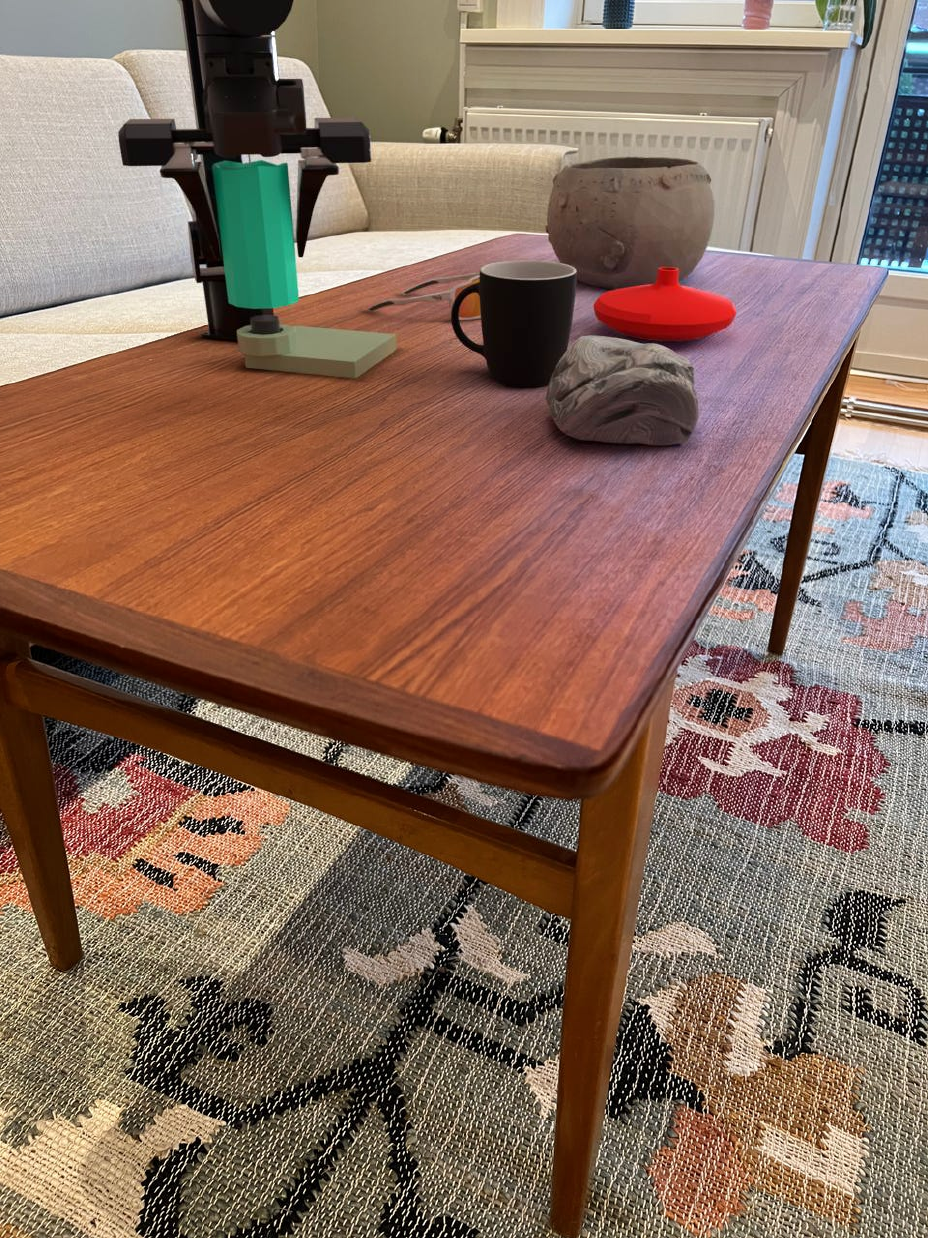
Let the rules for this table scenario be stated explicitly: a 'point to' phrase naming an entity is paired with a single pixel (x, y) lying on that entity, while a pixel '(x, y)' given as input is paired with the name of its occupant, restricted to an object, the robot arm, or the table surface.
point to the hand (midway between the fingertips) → (259, 257)
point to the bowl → (630, 218)
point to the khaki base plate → (315, 350)
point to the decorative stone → (623, 393)
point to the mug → (522, 319)
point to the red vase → (664, 310)
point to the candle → (256, 233)
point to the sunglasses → (442, 296)
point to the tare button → (265, 324)
